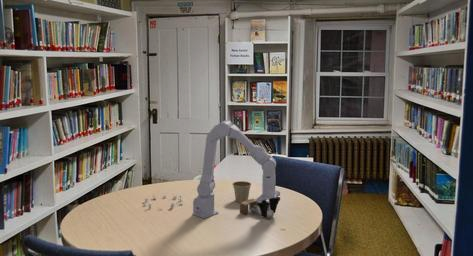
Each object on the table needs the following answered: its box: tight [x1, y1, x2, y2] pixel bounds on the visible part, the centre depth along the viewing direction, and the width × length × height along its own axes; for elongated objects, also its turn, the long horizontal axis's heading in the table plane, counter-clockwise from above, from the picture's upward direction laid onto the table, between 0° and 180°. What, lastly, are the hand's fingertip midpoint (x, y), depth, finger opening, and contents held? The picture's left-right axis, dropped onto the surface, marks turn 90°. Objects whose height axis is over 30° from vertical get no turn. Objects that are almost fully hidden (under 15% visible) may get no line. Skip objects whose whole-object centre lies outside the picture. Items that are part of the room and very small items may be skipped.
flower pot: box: [232, 180, 252, 203], centre depth 217 cm, size 9×9×9 cm
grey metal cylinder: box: [250, 205, 275, 220], centre depth 196 cm, size 10×4×4 cm, turn 49°
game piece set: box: [143, 192, 183, 211], centre depth 213 cm, size 19×20×4 cm
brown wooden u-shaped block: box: [239, 198, 258, 216], centre depth 201 cm, size 9×4×5 cm, turn 139°
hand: (268, 214), depth 194 cm, fingers open, 6 cm apart
